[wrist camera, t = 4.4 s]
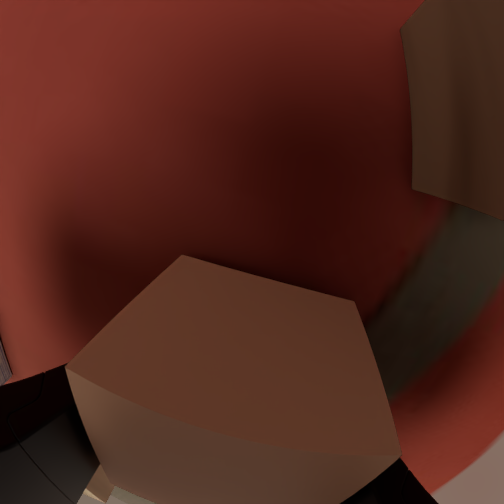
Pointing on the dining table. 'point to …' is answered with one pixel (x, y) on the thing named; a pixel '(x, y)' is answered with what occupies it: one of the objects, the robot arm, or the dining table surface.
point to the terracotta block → (234, 392)
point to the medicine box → (4, 367)
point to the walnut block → (457, 101)
